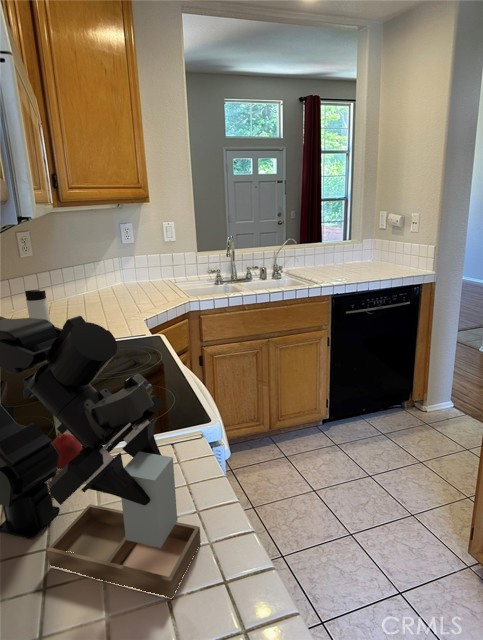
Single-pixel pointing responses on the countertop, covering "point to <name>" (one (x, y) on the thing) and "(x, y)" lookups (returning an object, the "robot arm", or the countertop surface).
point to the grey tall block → (151, 500)
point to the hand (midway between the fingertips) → (158, 489)
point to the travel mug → (37, 304)
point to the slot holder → (124, 552)
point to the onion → (66, 448)
